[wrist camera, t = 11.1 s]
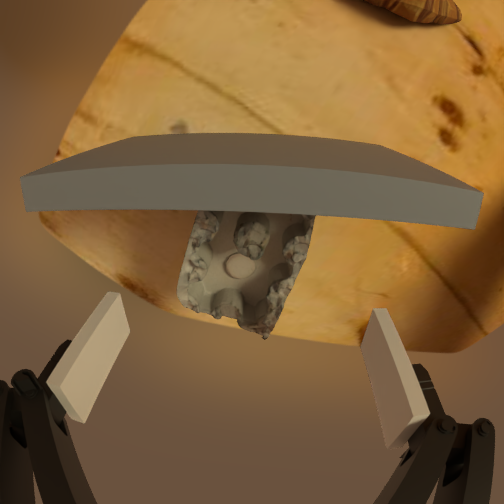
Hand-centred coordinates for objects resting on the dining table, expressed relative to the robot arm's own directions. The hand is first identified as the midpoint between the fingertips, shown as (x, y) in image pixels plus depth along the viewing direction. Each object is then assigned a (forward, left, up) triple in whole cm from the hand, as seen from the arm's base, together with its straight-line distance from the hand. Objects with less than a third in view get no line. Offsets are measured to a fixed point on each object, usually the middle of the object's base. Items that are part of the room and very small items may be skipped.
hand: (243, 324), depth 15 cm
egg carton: (+1, 0, -9) cm, 9 cm away
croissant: (-14, -24, -17) cm, 33 cm away
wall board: (0, -3, -16) cm, 17 cm away
